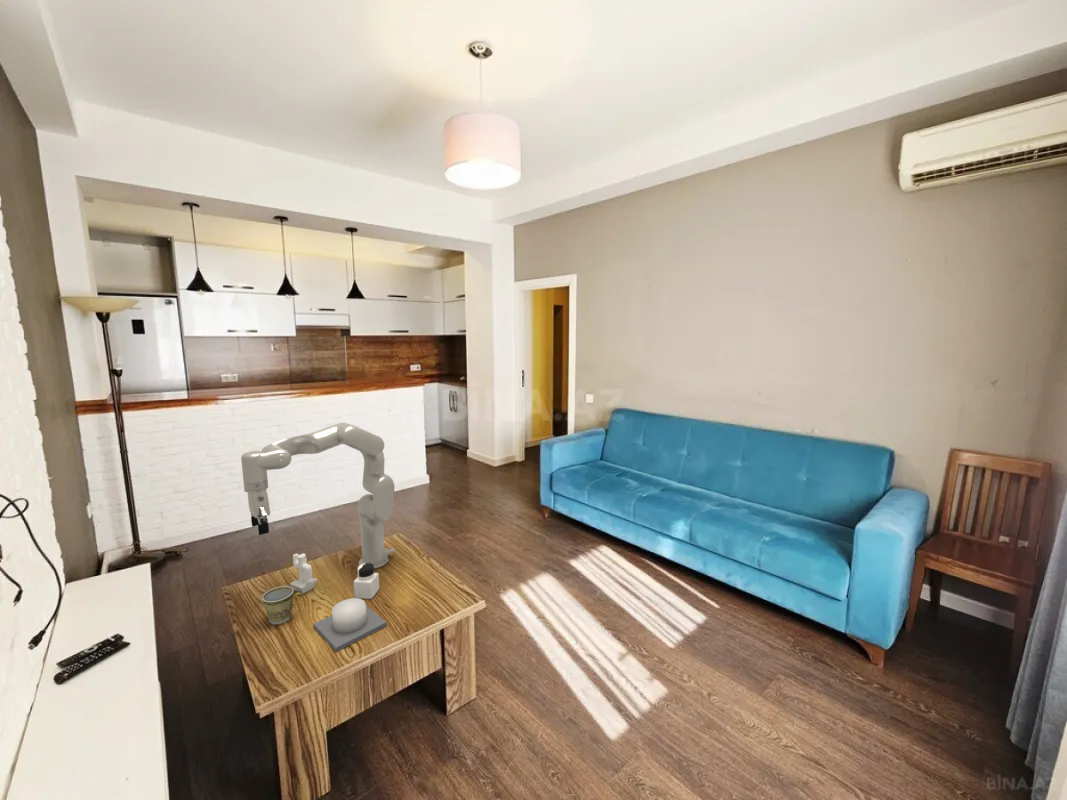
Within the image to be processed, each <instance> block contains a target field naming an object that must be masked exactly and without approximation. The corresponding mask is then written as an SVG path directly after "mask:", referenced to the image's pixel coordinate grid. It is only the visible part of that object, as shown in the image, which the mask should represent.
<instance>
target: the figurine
mask: <svg viewBox="0 0 1067 800" xmlns="http://www.w3.org/2000/svg"><path fill="white" fill-rule="evenodd" d="M307 561H308V560H307V555H306V553H304V552H303V553H301V554H299V553H294V554H292V562H293V567H294V568H296V569H298V574H299V576H298V577H299V578H297V579H295V580H293V581H292V582H290V583H289V584H290V587H292V588H293V589H294V591H296V593H297V592H301V593H302V594H305V593H308V592H309V591H311V590H312V589H314V587H315V585H316V584H317V581H318V578H315V577H313V568H312V567H313V566H312V565H311V564H309V563H307Z"/></svg>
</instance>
